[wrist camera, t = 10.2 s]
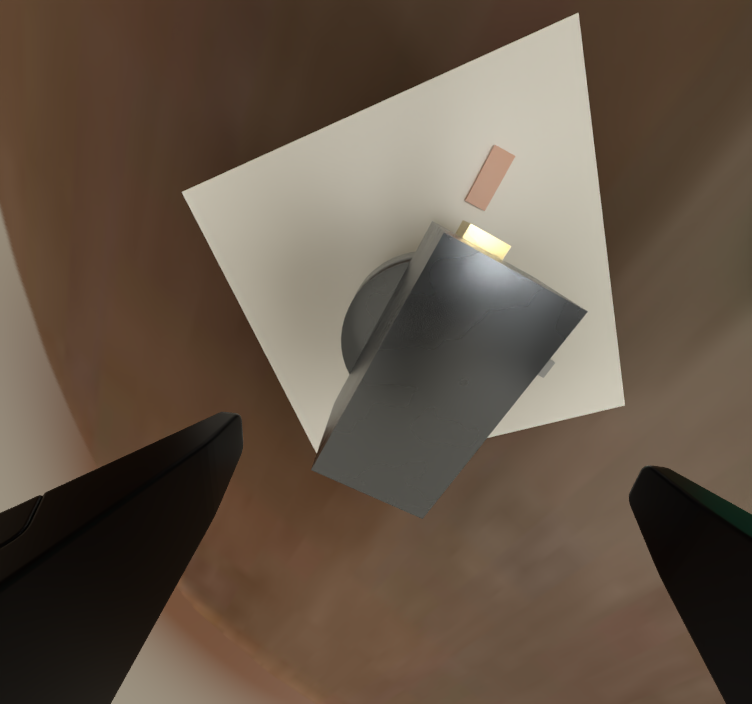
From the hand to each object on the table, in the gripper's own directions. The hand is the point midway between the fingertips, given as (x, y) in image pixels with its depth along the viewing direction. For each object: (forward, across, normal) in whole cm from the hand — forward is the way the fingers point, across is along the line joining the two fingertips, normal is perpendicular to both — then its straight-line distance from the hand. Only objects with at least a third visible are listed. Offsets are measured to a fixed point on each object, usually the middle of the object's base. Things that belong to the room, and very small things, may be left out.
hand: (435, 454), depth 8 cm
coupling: (+8, 0, 0) cm, 8 cm away
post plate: (+13, 0, 0) cm, 13 cm away
